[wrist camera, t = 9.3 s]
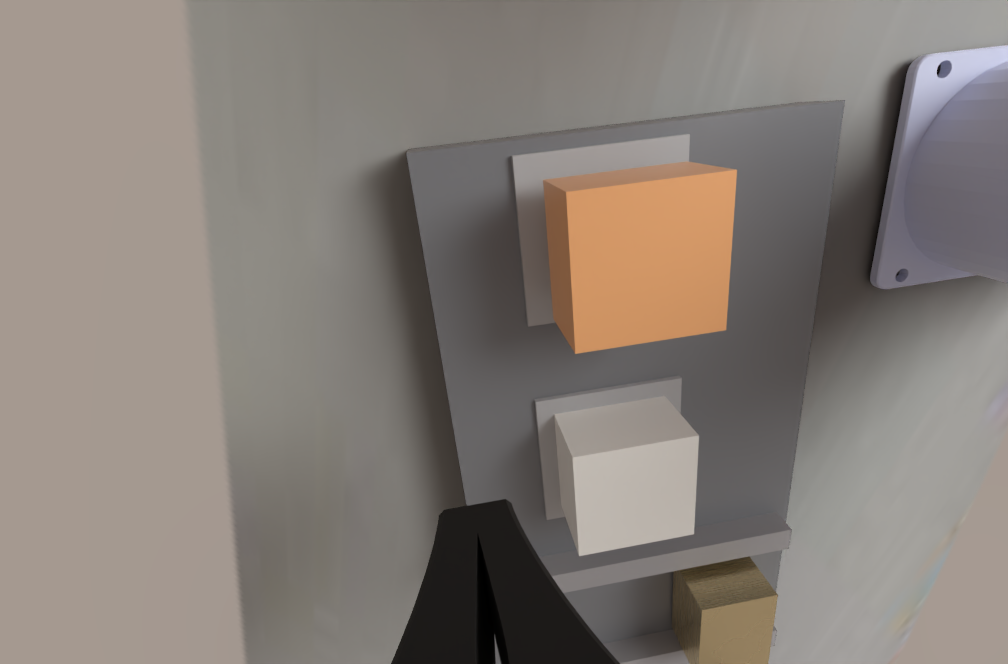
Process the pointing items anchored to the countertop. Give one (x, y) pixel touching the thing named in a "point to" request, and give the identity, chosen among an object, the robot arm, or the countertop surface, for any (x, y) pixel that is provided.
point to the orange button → (640, 253)
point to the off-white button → (626, 474)
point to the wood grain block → (724, 613)
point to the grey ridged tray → (635, 368)
